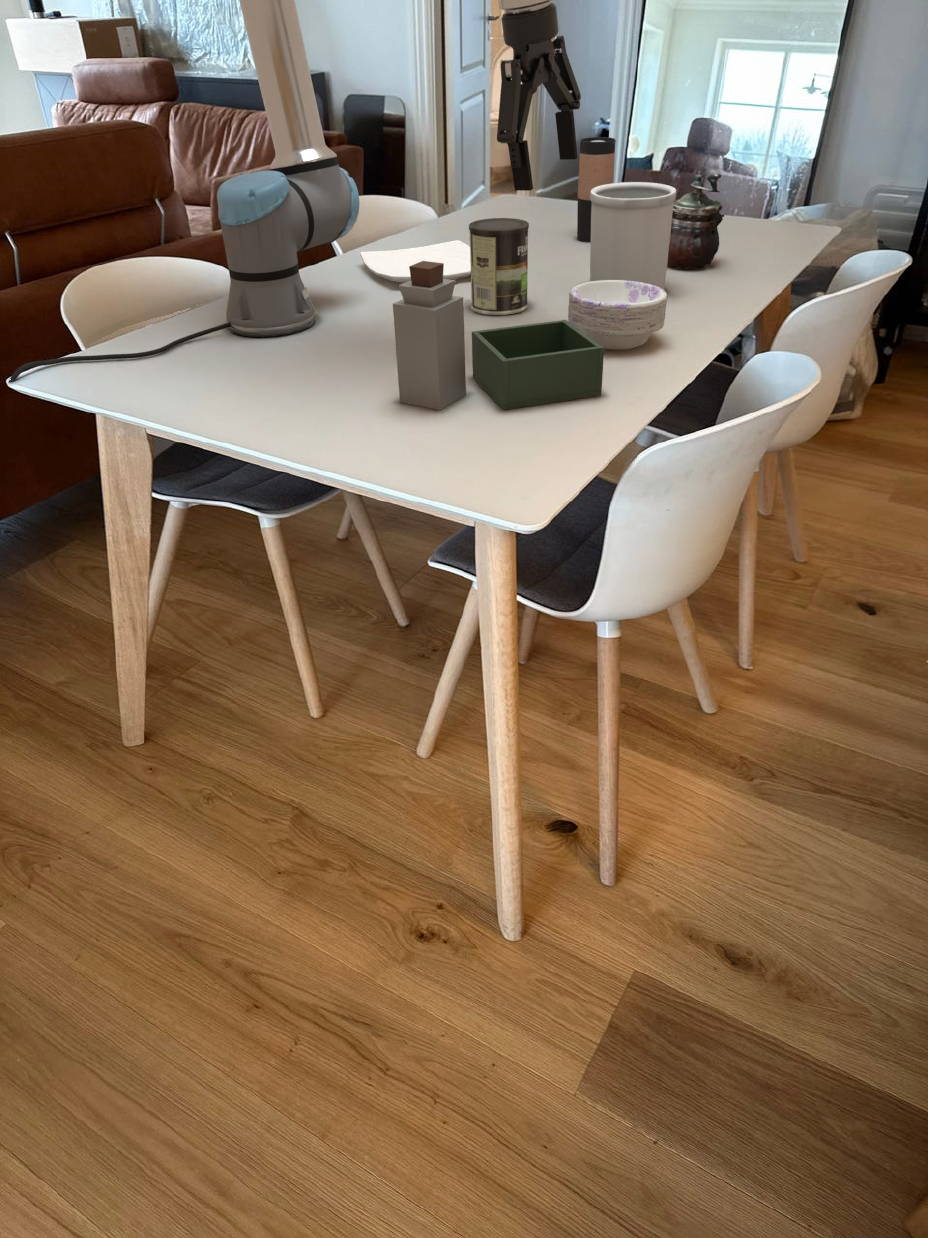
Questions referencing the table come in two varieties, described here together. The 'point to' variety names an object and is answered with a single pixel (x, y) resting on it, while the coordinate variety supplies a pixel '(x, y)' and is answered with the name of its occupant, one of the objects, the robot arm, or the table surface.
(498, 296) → the coffee can
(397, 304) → the perfume bottle
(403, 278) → the plate
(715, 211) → the coffee grinder
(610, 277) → the utensil holder
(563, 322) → the tote
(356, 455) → the table surface
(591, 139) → the travel mug
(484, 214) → the table surface
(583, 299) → the paper bowls
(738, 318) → the table surface
